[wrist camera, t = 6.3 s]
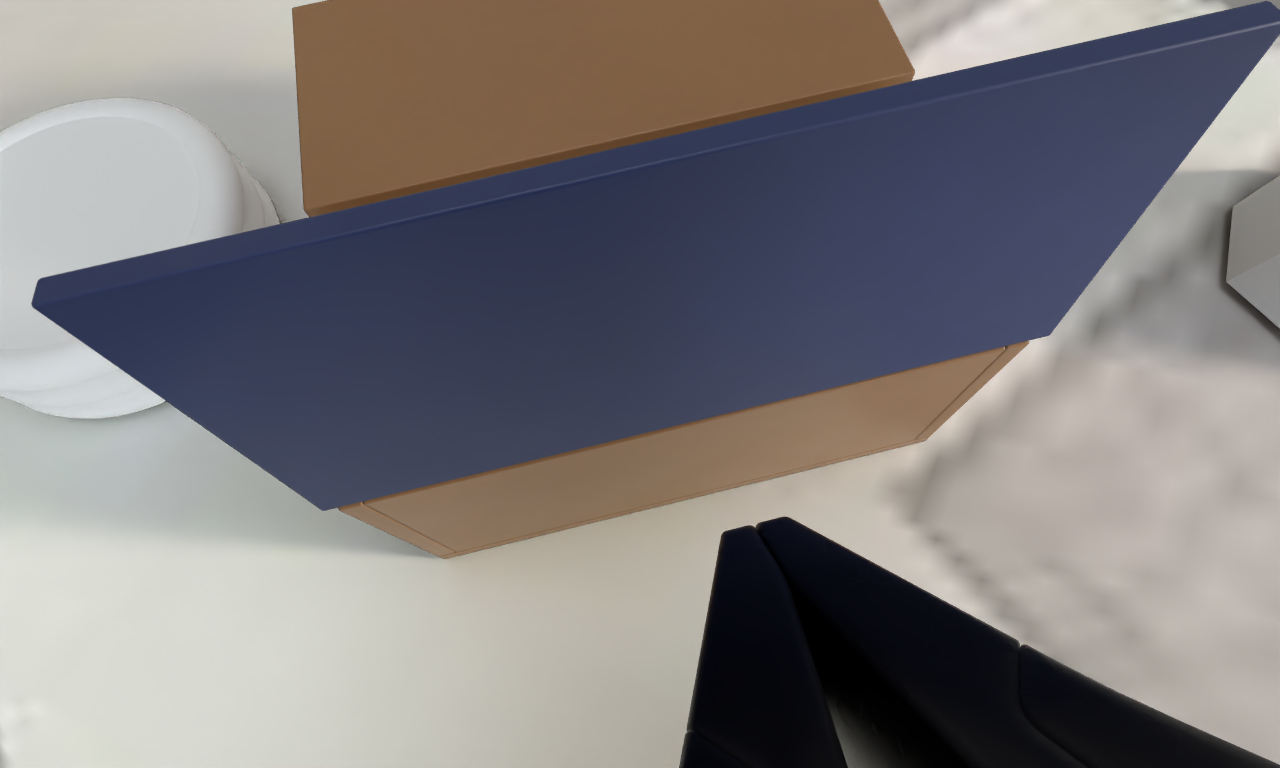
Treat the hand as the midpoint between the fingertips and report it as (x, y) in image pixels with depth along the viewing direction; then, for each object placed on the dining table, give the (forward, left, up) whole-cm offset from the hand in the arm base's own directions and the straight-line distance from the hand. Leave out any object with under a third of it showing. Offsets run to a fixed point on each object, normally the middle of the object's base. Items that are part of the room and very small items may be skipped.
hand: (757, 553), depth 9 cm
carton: (+9, +3, -10) cm, 14 cm away
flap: (+4, +1, 0) cm, 4 cm away
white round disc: (+9, +20, -11) cm, 24 cm away
